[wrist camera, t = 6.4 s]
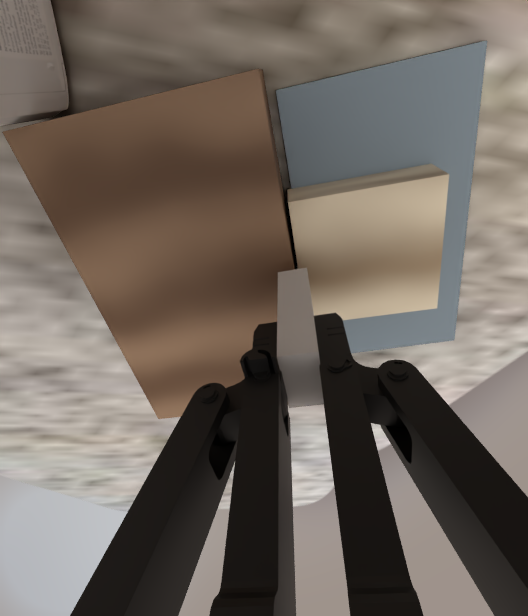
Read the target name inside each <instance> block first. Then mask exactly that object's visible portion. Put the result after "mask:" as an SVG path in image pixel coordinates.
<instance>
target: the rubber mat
mask: <svg viewBox="0 0 528 616" xmlns="http://www.w3.org/2000/svg"><path fill="white" fill-rule="evenodd" d="M486 47H487V41H482V42H477V43H473V44H469V45H465V46H460V47H456V48H452V49H448V50H444V51H439V52H435V53H431V54H427V55H422V56H418V57H414V58H410V59H405V60H401V61H397V62H393V63H389V64H384V65H380V66H376V67H372V68H367V69H363V70H359V71H355V72H351V73H346V74H342V75H338V76H334V77H329V78H325V79H321V80H317V81H312V82H308V83H304V84H300V85H296V86H291V87H287V88H283V89H279V90H276V95H277V101H278V107H279V114H280V120H281V126H282V133H283V139H284V145H285V152H286V158H287V164H288V171H289V177H290V183H291V189H294V188H299V187H305V186H310V185H316V184H321V183H327V182H332V181H338V180H343V179H349V178H354V177H360V176H366V175H371V174H377V173H382V172H388V171H393V170H399V169H404V168H410V167H415V166H421V165H427V164H433V165H435V166H436V167H438V168H440V169H441V170H443V171H445V172H446V173H448V174H449V182H448V194H447V205H446V216H445V227H444V238H443V249H442V260H441V271H440V282H439V293H438V305H437V308H436V309H428V310H420V311H412V312H404V313H396V314H389V315H381V316H373V317H365V318H357V319H350V320H343V324H344V328H345V331H346V335H347V339H348V343H349V347H350V351H351V353H357V352H365V351H373V350H381V349H388V348H396V347H404V346H412V345H420V344H428V343H436V342H444V341H452V340H454V338H455V329H456V320H457V311H458V302H459V293H460V284H461V275H462V266H463V256H464V247H465V238H466V229H467V220H468V211H469V202H470V193H471V184H472V174H473V165H474V156H475V147H476V138H477V129H478V120H479V111H480V102H481V93H482V83H483V74H484V65H485V56H486Z"/></svg>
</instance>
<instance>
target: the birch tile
mask: <svg viewBox="0 0 528 616" xmlns="http://www.w3.org/2000/svg"><path fill="white" fill-rule="evenodd" d="M448 182H449V174H448V173H446V172H445V171H443V170H441V169H440V168H438V167H436V166H435V165H433V164H427V165H421V166H415V167H410V168H404V169H399V170H393V171H388V172H382V173H377V174H371V175H366V176H360V177H354V178H349V179H343V180H338V181H332V182H327V183H321V184H316V185H310V186H305V187H299V188H294V189H287V192H288V205H289V212H290V218H291V225H292V231H293V238H294V245H295V251H296V258H297V264H298V269H301V268H307V272H308V278H309V285H310V291H311V298H312V304H313V311H314V316H315V315H322V314H329V313H337V314H338V315H339V316H340V317H341V318H342V320H350V319H357V318H365V317H373V316H381V315H389V314H396V313H404V312H412V311H420V310H428V309H436V308H437V305H438V293H439V282H440V271H441V260H442V249H443V238H444V227H445V216H446V205H447V194H448Z"/></svg>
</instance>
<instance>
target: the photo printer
mask: <svg viewBox="0 0 528 616" xmlns="http://www.w3.org/2000/svg"><path fill="white" fill-rule="evenodd" d="M68 106H69V95H68V84H67V77H66V72H65V67H64V62H63V57H62V52H61V47H60V42H59V38H58V33H57V28H56V23H55V18H54V14H53V9H52V5H51V0H0V126H3V125H10V124H16V123H22V122H29V121H35V120H41V119H46V118H51V117H53V116H55V115H57V114H58V113H60V112H61V111H62V110H66V109H68Z"/></svg>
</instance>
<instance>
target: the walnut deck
mask: <svg viewBox="0 0 528 616" xmlns="http://www.w3.org/2000/svg"><path fill="white" fill-rule="evenodd" d="M3 134H4V136H5V138H6V140H7V141H8V143H9V145H10V147H11V149H12V151H13V152H14V154H15V156H16V158H17V160H18V162H19V163H20V165H21V167H22V169H23V171H24V173H25V174H26V176H27V178H28V180H29V182H30V184H31V185H32V187H33V189H34V191H35V193H36V195H37V196H38V198H39V200H40V202H41V204H42V206H43V208H44V209H45V211H46V213H47V215H48V217H49V219H50V220H51V222H52V224H53V226H54V228H55V230H56V231H57V233H58V235H59V237H60V239H61V241H62V242H63V244H64V246H65V248H66V250H67V252H68V253H69V255H70V257H71V259H72V261H73V263H74V264H75V266H76V268H77V270H78V272H79V274H80V276H81V277H82V279H83V281H84V283H85V285H86V287H87V288H88V290H89V292H90V294H91V296H92V298H93V299H94V301H95V303H96V305H97V307H98V309H99V310H100V312H101V314H102V316H103V318H104V320H105V321H106V323H107V325H108V327H109V329H110V331H111V332H112V334H113V336H114V338H115V340H116V342H117V344H118V345H119V347H120V349H121V351H122V353H123V355H124V356H125V358H126V360H127V362H128V364H129V366H130V367H131V369H132V371H133V373H134V375H135V377H136V378H137V380H138V382H139V384H140V386H141V388H142V389H143V391H144V393H145V395H146V397H147V399H148V400H149V402H150V404H151V406H152V408H153V410H154V412H155V413H156V415H157V417H158V419H162V418H172V417H181V416H182V414H183V412H184V411H185V409H186V407H187V405H188V403H189V402H190V400H191V398H192V396H193V394H194V393H195V392H196V391H197V389H199V388H200V387H202V386H203V385H206V384H208V383H220V384H222V385H223V386H224V387H225V388H227V387H230V386H233V385H235V384H237V383H239V382H241V381H242V380H244V378H245V376H244V373H243V370H242V367H241V364H240V359H241V357H242V356H243V355H244V354H245V353H246V352H248V351H249V350H251V349H252V347H253V346H252V345H253V335H254V331H255V329H256V328H257V326H258V325H259V324H264V323H271V322H277V305H278V272H283V271H289V270H295V269H297V268H296V262H295V256H294V251H293V245H292V239H291V233H290V227H289V221H288V215H287V210H286V204H285V198H284V192H283V186H282V180H281V175H280V169H279V163H278V157H277V151H276V145H275V139H274V134H273V128H272V122H271V116H270V110H269V104H268V99H267V93H266V87H265V81H264V75H263V70H262V69H255V70H251V71H247V72H243V73H239V74H235V75H231V76H227V77H223V78H219V79H215V80H210V81H206V82H202V83H198V84H194V85H190V86H186V87H182V88H178V89H174V90H170V91H166V92H162V93H158V94H154V95H150V96H146V97H142V98H138V99H134V100H129V101H125V102H121V103H117V104H113V105H109V106H105V107H101V108H97V109H93V110H89V111H85V112H81V113H77V114H73V115H69V116H65V117H61V118H57V119H53V120H49V121H44V122H40V123H36V124H32V125H28V126H24V127H20V128H16V129H12V130H8V131H4V132H3Z"/></svg>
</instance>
